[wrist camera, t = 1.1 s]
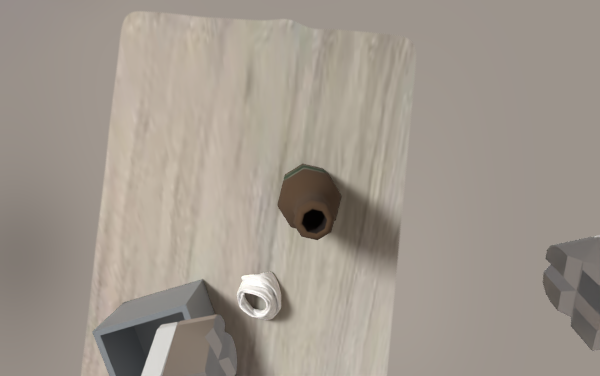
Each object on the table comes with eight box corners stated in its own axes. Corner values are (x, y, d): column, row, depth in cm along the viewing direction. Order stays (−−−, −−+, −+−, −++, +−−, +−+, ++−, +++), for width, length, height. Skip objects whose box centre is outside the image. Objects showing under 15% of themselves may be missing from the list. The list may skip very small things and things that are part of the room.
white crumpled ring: (288, 306, 60) (291, 322, 55) (248, 322, 59) (248, 339, 54) (270, 262, 58) (272, 274, 53) (229, 278, 58) (227, 291, 53)
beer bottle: (270, 194, 56) (252, 231, 32) (300, 152, 55) (304, 159, 32) (312, 223, 57) (324, 281, 33) (342, 182, 56) (377, 212, 32)
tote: (238, 382, 60) (228, 424, 51) (161, 404, 60) (138, 449, 51) (202, 279, 58) (185, 304, 49) (123, 302, 58) (92, 331, 49)
